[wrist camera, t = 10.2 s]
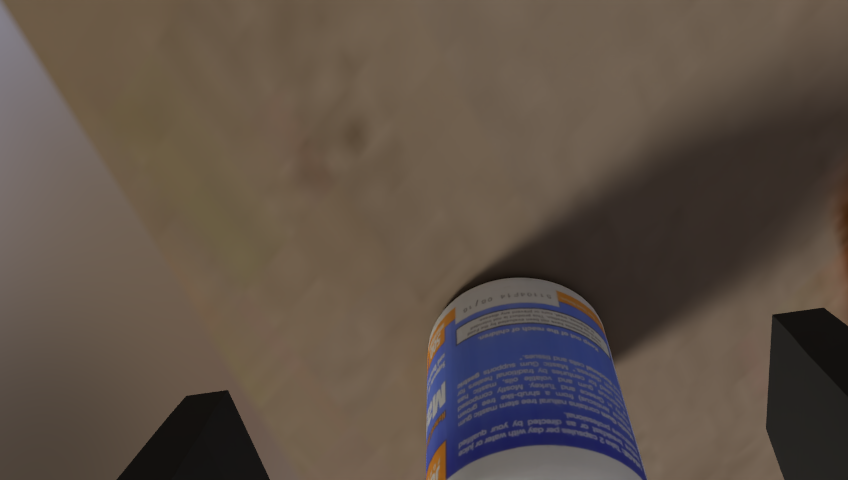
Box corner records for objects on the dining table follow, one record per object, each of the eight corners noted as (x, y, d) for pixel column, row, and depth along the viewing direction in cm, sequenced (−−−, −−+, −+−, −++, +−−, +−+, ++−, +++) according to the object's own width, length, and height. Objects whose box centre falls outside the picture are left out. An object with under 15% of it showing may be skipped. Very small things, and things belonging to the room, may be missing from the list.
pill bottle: (403, 297, 22) (380, 614, 14) (585, 249, 21) (672, 563, 13) (458, 421, 25) (466, 747, 17) (622, 385, 24) (713, 713, 16)
